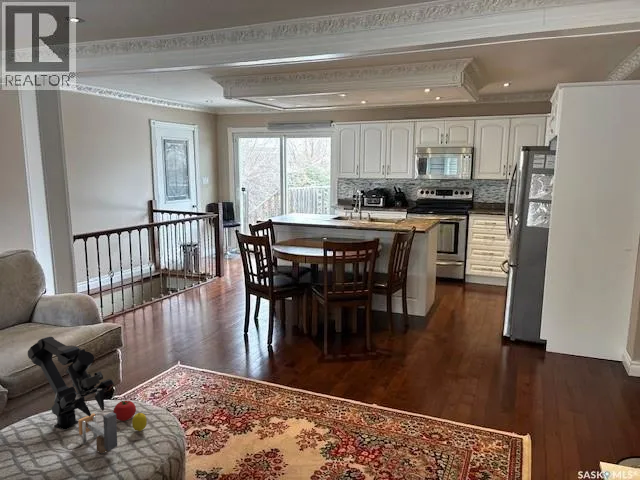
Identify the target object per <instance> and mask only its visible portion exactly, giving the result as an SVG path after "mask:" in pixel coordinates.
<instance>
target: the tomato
mask: <svg viewBox="0 0 640 480" xmlns="http://www.w3.org/2000/svg"><path fill="white" fill-rule="evenodd" d="M136 411H137V407H136V405H135V403H134V402H133V401H131V400H121V401H119V402H118V403H116V405H115V406H114V408H113V411H112V412H114V413H115V414H116V420H117V421H122V422H125V421H129V420H131V419H133V417H134V416H135V415H136Z"/></svg>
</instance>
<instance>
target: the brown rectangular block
mask: <svg viewBox="0 0 640 480" xmlns="http://www.w3.org/2000/svg"><path fill="white" fill-rule="evenodd" d="M95 440H96V442H95V443H96V452H97V451H99V452H100V453H103V452H105V451H107V450H106V449H105V447H104V438H102V437H101V436H99V435H97V437H96V439H95ZM99 452H98V453H99ZM107 452H108V451H107ZM100 453H99V454H100ZM105 453H106V452H105ZM103 454H104V453H103Z"/></svg>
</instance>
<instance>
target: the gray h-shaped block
mask: <svg viewBox="0 0 640 480" xmlns="http://www.w3.org/2000/svg"><path fill="white" fill-rule="evenodd" d="M102 417H103V419H102V420H103V426H102V425H99V423H97V422H96V423H95V422H93V421H92V420H89V421H86V427H87V428H88V429H90V430H91V432H92V433H93V432H95V433H96V434H97V436H101V437H102V438H104V447H105V449H106V450H107V452H109V451H112V450H114V449H115V448H118V430H117V429H118V427H117V423H118V422H117V421H118V420H117V419H116V414H115V413H114V412H113V411H111V412H109V413H107V414H104V415H103V416H102Z"/></svg>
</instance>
